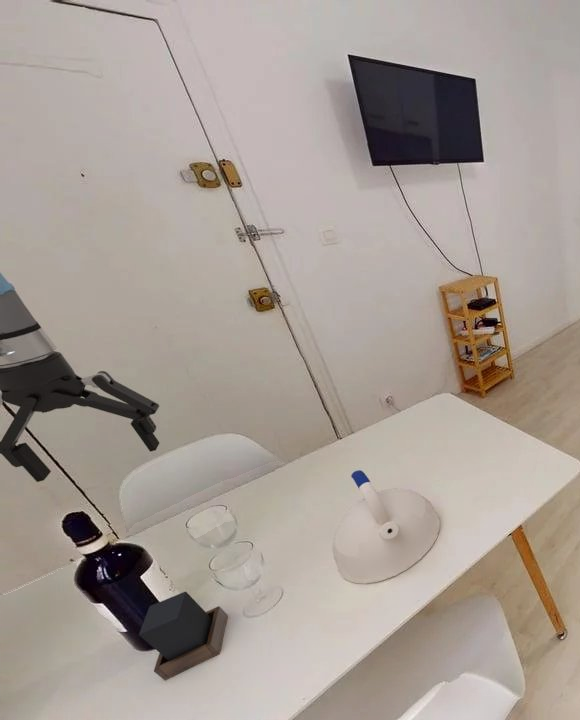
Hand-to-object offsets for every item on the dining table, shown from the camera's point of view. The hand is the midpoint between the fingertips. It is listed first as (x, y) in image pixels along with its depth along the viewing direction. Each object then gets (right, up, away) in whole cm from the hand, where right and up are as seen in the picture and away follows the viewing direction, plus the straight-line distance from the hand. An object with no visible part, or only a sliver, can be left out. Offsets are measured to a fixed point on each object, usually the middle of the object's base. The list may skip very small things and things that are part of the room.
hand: (102, 461), depth 75 cm
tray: (+20, -32, -2) cm, 38 cm away
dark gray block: (+20, -32, -3) cm, 38 cm away
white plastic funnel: (+44, -22, +16) cm, 51 cm away
